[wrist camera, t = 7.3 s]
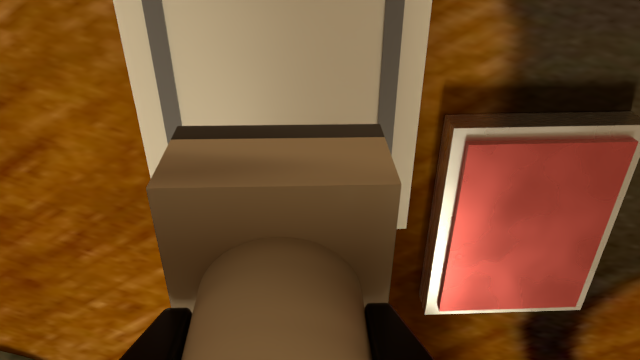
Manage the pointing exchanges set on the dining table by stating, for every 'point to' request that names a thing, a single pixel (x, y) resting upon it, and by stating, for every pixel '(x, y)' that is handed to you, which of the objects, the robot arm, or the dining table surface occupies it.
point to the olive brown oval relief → (12, 356)
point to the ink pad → (524, 208)
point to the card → (278, 67)
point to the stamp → (276, 237)
